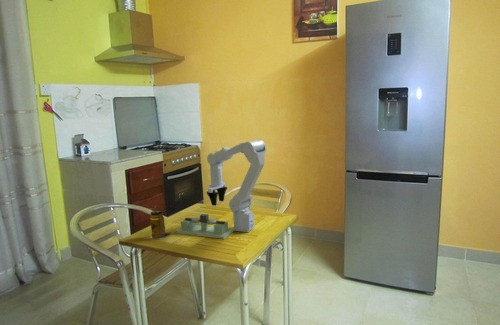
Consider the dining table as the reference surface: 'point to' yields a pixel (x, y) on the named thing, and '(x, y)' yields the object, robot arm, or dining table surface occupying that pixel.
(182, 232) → the display stand
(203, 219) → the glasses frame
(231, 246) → the dining table surface
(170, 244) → the dining table surface
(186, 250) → the dining table surface
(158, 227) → the condiment
